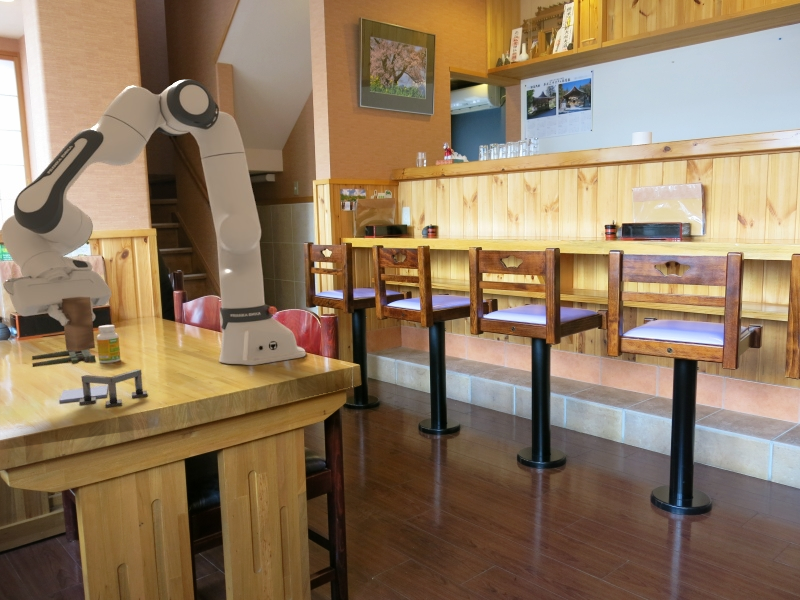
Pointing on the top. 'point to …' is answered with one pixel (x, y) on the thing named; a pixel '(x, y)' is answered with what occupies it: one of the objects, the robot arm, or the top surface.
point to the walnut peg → (78, 324)
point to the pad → (78, 394)
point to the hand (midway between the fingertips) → (79, 321)
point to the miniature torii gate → (73, 358)
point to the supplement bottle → (108, 344)
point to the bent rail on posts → (112, 387)
